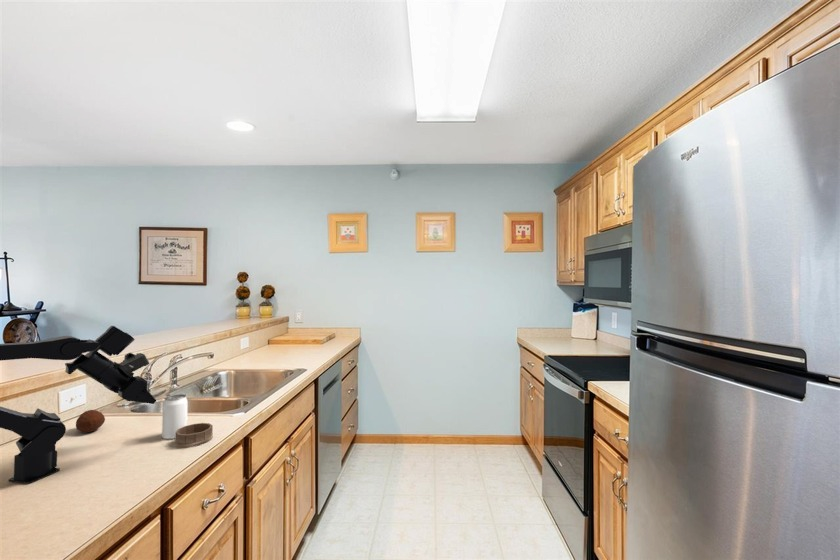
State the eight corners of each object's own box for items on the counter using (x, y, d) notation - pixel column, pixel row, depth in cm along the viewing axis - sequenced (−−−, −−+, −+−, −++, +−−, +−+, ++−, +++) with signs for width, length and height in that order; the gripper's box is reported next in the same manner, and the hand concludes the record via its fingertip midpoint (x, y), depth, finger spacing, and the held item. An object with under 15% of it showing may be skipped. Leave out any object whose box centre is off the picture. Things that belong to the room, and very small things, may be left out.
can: (190, 434, 112) (191, 396, 113) (167, 441, 107) (167, 401, 107) (181, 429, 116) (182, 392, 116) (158, 436, 111) (159, 397, 111)
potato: (105, 423, 121) (105, 404, 121) (104, 432, 114) (105, 412, 114) (76, 429, 116) (77, 409, 117) (74, 438, 109) (74, 417, 110)
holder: (195, 448, 102) (195, 436, 102) (166, 446, 104) (167, 434, 104) (219, 435, 112) (220, 424, 112) (193, 432, 114) (193, 421, 114)
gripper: (138, 349, 97) (183, 381, 105) (118, 342, 108) (160, 372, 117) (100, 384, 90) (151, 415, 99) (82, 373, 102) (130, 402, 110)
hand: (149, 399), depth 106 cm, fingers open, 9 cm apart
